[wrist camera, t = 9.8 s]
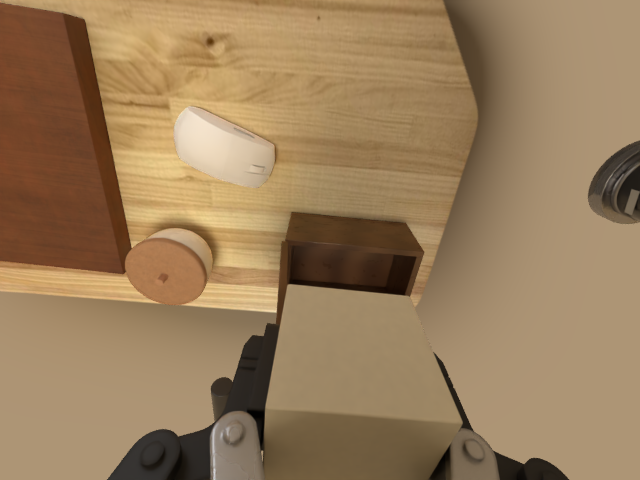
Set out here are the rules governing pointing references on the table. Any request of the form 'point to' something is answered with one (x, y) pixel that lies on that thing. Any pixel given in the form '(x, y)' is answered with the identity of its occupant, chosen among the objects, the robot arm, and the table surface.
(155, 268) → the trinket box
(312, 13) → the table surface
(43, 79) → the brown flat wooden slab
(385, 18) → the table surface
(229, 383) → the lid
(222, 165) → the computer mouse
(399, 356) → the block
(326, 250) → the chest
